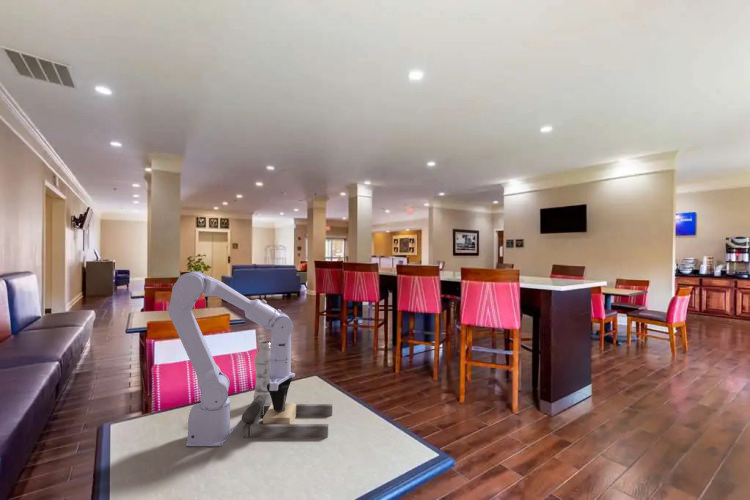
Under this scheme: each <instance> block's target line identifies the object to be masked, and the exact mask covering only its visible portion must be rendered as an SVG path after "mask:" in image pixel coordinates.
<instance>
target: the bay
mask: <svg viewBox="0 0 750 500" xmlns="http://www.w3.org/2000/svg"><path fill="white" fill-rule="evenodd" d="M265 402H266V399H265V397H264V396H262V395H258V396H257V397H256V398H255V399H254V398H253V401H251V403H250V404H249V406H248V407H247V408H246V409H245V410H244V412H243V414H242V415H241V420H242V424H243V423H244V425H243V432H242V433H243V435H242V437H243V438H244V439H245V438H247V439H254V438H255V439H256V438H257V439H258V438H259V439H260V438H262V439H265V438H266V439H267V438H270V439H271V438H272V439H274V438H275V439H277V438H280V439H281V438H283V439H284V438H285V439H286V438H288V439H289V438H290V439H291V438H294V439H298V438H306V439H307V438H310V439H311V438H318V439H319V438H324V439H325V438H329V423H328V424H327V423H325V424H324V423H323V424H322V423H318V424H317V423H311V424H310V423H304V424H303V423H300V424H299V423H296V424H295V423H293V424H263V423H259V421H260V420H261V418H263V417H264V415H265V414H266V412H267V410H268V409H269V407H270V406H271V404H272V403H270V404H265ZM264 404H265V405H264ZM262 416H263V417H262ZM300 416H301V417H304V416H306V417H313V416H316V417H317V416H318V417H324V416H326V417H328V416H329V417H330V416H332V417H333V404H332V403H327V404H326V403H323V404H322V403H321V404H320V403H318V404H317V403H314V404H313V403H312V404H311V403H307V404H305V403H303V404H302V403H296V417H300ZM258 423H259V424H258Z"/></svg>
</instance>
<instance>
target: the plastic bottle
mask: <svg viewBox="0 0 750 500" xmlns="http://www.w3.org/2000/svg"><path fill="white" fill-rule="evenodd" d="M270 342H271V340H262V341H260V342H259V347H258V349H259V351H258V352H257V353H256V354H255V356H254V361H253V362H254V367H255V387H254V393H253V400H254V399H255V398H256V397H257V396H258V395H262V396H264V397H265V399H266V402H265V404H272V399H271V396H270V393H269V392H268V390H267V385H268V383H270V380H269V374H270ZM265 404H264V405H265ZM264 405H263V406H264Z"/></svg>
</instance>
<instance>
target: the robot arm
mask: <svg viewBox="0 0 750 500" xmlns="http://www.w3.org/2000/svg"><path fill="white" fill-rule="evenodd" d="M171 290H172V291H171V296H170V300H169V306H168V310H167V313H168V316H169V318H170V320H171V322H172V324H173V327H174V329H175V331H176V332H177V335H178V338H179V340H180V341H181V342H180V343H182V344H181V345H182V346H183V348H184V351H185V353H186V355H187V357H188V359H189V361H190V364H191V365H192V368H193V370H194V372H195V375H196V377H197V378H196V379H197V385H198V386H197V387H198V388H199V391H200V398H199V400H200V403H195V404H193V406H192V407H191V408H190V410H189V414H188V418H187V419H188V421H187V442H186V444H185V446H186V447H222V445H224V443H225V442H226V441H227V439H228V438H229V436H230V435H231V434H232V432H233V431H234V430H235V429H234V428H231V425H230V424H231V398H229V388H230V382H231V381H230V379H229V377H228V376H227V375H226V373H223V372H222V371H221V369H220V366H219V365H218V364H216V361H215V359H214V357H213V355H212V352H211V351H210V348H209V346H208V344H207V342H206V340H205V336H204V335H203V332H202V331H201V328H200V326H199V324H198V321H197V319H196V317H195V315H194V313H193V309H194V306H195V305H196V302H197V301H198V299H199V297H201V296H202V294H203V293H204V295H203V297H217V298H220V299H221V300H223V301H226V302H227V303H229V304H231V305H233V306H234V307H237V308H238V309H240V310H242V311H244V316H245V318H246V319H248V320H250V321H251V322H253V323H255V324H257V325H258V326H260V327H262V328H264V329H266V330H267V329H269V330H270V331H271V335H270V337H271V340H270V341H271V342H270V374H269V380H270V383H268V385H267V390H268V392H269V393H270V396H271V399H272V403H271V404H273V408H274V410H282V408H283V404H284V397H285V403H286V401H287V397H288V391H289V388H290V385H291V382H292V380H293V378H295V376H296V373H295V372H292V333H293V330H294V327H295V326H294V323H293V322H292V320H291V318H290V317H289V316H288V314H286V313H285V312H282V310H281V309H280V308H278V309H276V308H274V307H273V306H271V305H270V304H267V300H265V299H262V300H261V299H259V298H256V299H249V298H247V296H245V295H243V294H241V293H240V292H238V291H237V290H235V289H234V288H232V287H230V286H229V285H227V284H226V283H224V282H223V281H221V280H219V279H217V278H214V277H212V276H210V275H207V274H205V273H203V272H202V271H199V270H193V271H190V272H186V273H184V274H182V275H181V276H179V277H178V278H177V280H176V282H175V283H174V285H173V286H172V288H171Z"/></svg>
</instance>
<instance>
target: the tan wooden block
mask: <svg viewBox="0 0 750 500" xmlns="http://www.w3.org/2000/svg"><path fill="white" fill-rule="evenodd" d="M270 404H271V406H270V407H269V409H268V410H267V412H266V414H265V415H264V416H263V417H262V424H295V420H296V418H297V416H296V404H297V403H295V402H293V403H291V402H290V403H288V402H287V403H286V402H285V397H284V404H283V408H282V410H274V408H273V404H272V403H270Z"/></svg>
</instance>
